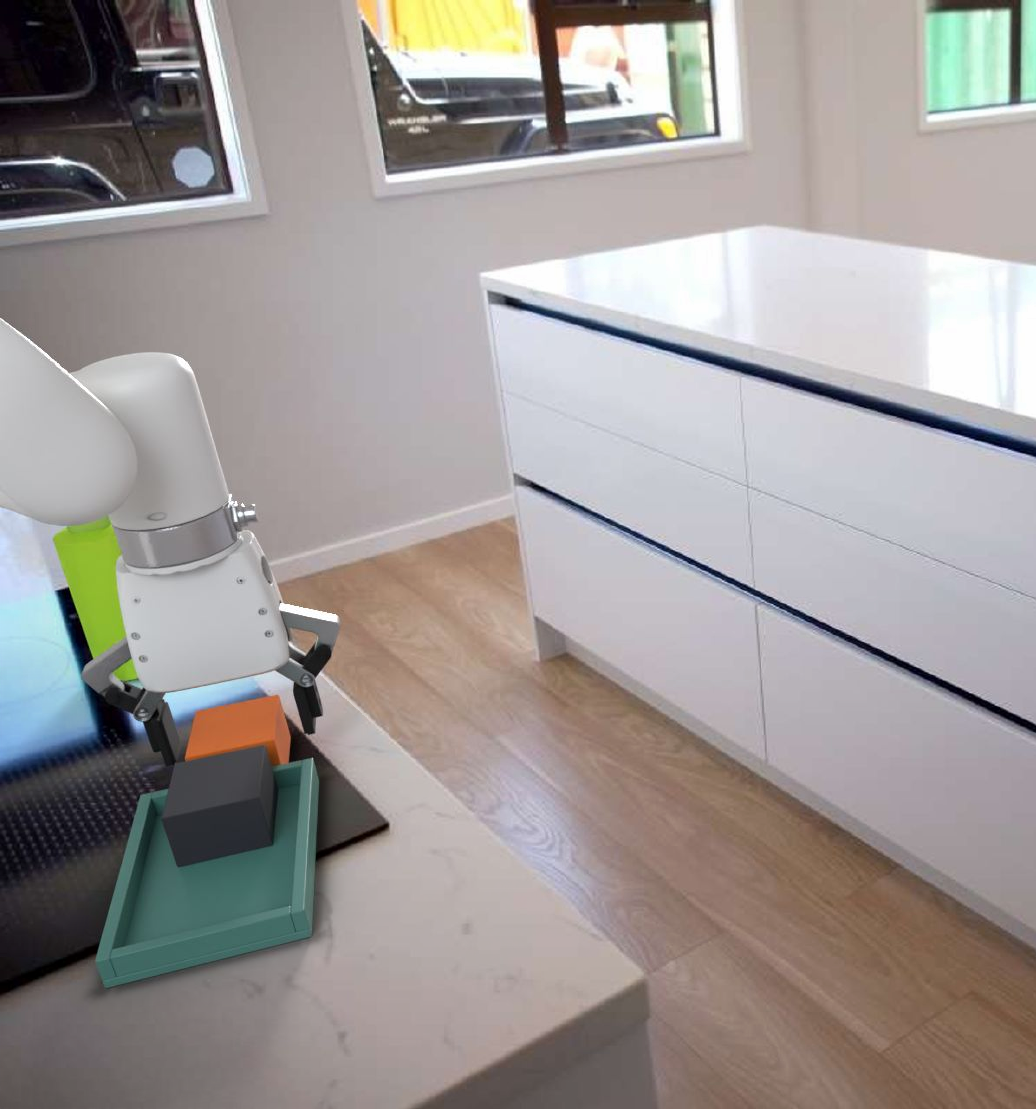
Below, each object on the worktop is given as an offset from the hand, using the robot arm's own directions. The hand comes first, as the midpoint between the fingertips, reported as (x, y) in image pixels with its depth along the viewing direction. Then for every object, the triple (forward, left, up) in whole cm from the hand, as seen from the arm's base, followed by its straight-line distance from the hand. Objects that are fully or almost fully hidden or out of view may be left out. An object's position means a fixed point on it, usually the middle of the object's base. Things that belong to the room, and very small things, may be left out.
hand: (243, 740), depth 95 cm
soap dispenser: (-11, +22, -3) cm, 25 cm away
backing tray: (-1, -13, -2) cm, 13 cm away
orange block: (0, 0, -2) cm, 2 cm away
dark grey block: (-1, -9, -2) cm, 9 cm away
